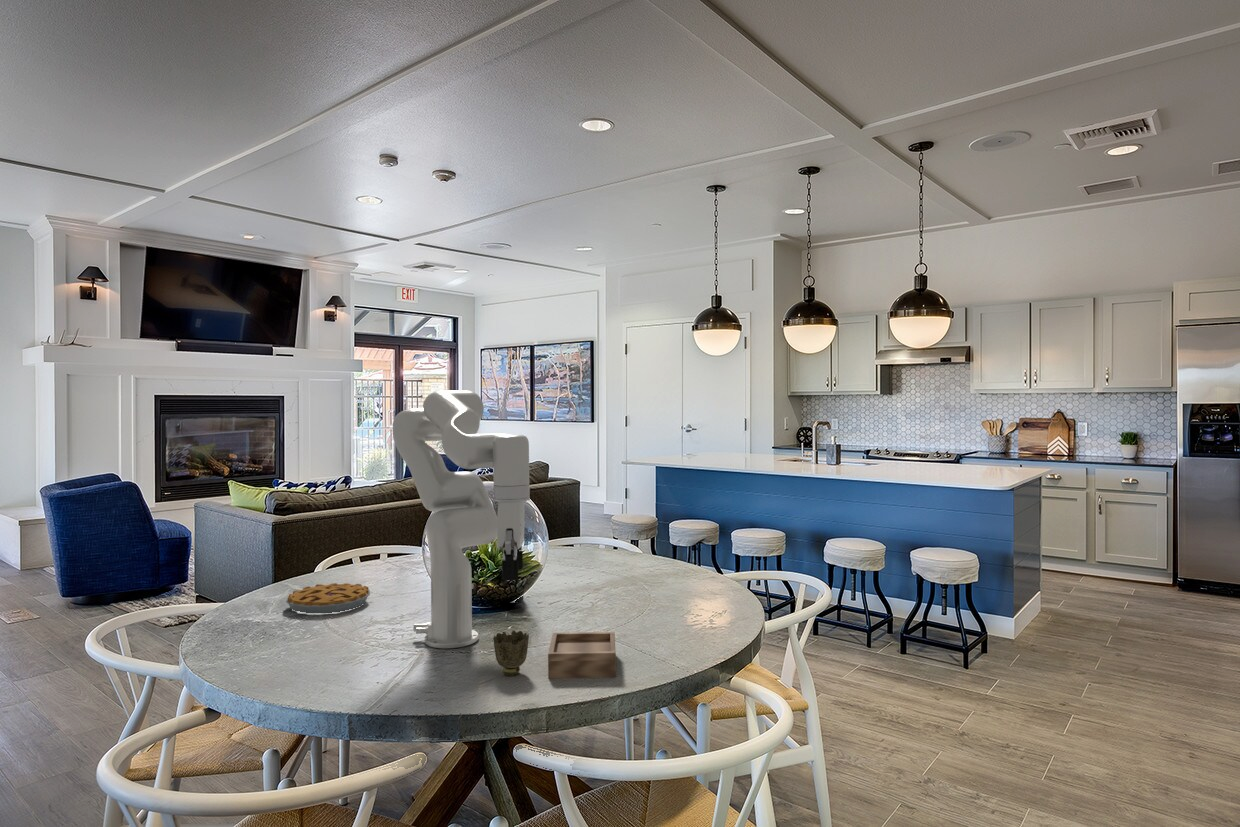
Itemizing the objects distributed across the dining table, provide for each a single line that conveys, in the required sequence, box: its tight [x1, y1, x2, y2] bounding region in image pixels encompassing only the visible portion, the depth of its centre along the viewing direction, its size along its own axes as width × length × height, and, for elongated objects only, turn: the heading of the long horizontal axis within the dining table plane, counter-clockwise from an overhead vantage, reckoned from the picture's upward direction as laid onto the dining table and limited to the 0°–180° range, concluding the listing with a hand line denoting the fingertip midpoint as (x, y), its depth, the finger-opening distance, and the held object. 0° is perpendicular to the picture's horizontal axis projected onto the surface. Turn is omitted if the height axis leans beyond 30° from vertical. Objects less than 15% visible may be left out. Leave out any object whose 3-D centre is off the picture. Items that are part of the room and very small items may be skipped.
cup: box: [492, 630, 530, 676], centre depth 155 cm, size 8×7×8 cm
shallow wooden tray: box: [547, 631, 617, 679], centre depth 159 cm, size 14×14×6 cm
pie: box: [285, 582, 371, 613], centre depth 208 cm, size 22×22×5 cm
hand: (512, 574), depth 155 cm, fingers open, 9 cm apart
